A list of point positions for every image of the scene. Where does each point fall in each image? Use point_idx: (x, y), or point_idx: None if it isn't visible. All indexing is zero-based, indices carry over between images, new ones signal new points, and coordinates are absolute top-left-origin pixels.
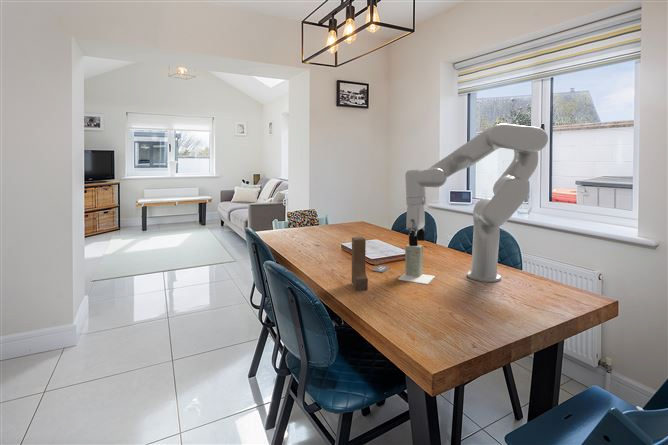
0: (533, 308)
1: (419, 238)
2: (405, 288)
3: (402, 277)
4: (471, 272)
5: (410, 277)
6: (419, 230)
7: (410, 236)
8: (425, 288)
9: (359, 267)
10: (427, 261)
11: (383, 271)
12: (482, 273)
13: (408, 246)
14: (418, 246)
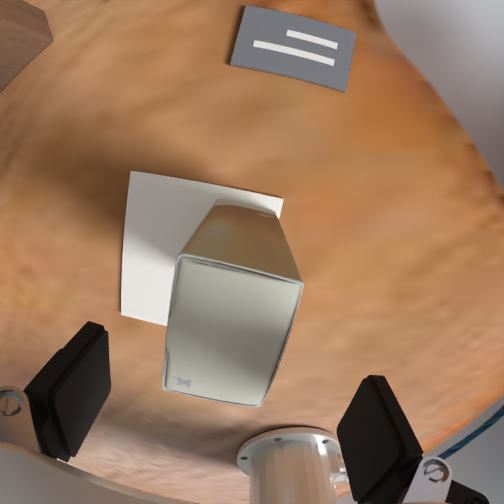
0: (104, 474)
1: (360, 412)
2: (44, 231)
3: (162, 191)
4: (285, 447)
5: (178, 233)
6: (391, 487)
7: (17, 399)
8: (78, 305)
9: None
10: (480, 281)
11: (239, 65)
12: (250, 471)
13: (174, 291)
14: (190, 382)
